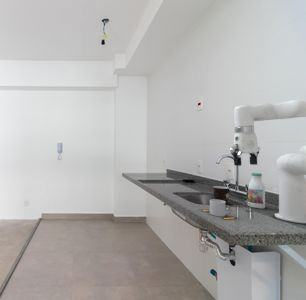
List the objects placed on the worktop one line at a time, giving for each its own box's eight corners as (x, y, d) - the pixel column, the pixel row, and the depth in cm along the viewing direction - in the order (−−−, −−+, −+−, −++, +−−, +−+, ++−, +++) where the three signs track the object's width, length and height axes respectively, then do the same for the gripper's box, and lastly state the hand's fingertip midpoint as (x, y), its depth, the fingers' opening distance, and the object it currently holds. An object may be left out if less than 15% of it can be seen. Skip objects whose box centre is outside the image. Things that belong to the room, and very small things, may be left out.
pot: (217, 212, 111) (217, 199, 111) (228, 216, 104) (228, 202, 104) (206, 212, 109) (206, 199, 109) (217, 216, 103) (217, 202, 103)
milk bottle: (252, 204, 127) (252, 172, 127) (267, 208, 120) (268, 173, 120) (245, 206, 123) (245, 172, 123) (260, 209, 116) (261, 174, 116)
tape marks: (211, 210, 114) (211, 209, 114) (235, 218, 101) (235, 218, 101) (201, 210, 113) (201, 210, 113) (225, 219, 99) (225, 218, 99)
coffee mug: (223, 201, 135) (223, 186, 135) (233, 204, 126) (233, 188, 126) (205, 201, 134) (205, 186, 134) (214, 205, 126) (214, 188, 126)
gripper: (237, 129, 97) (238, 166, 97) (266, 129, 101) (267, 164, 101) (223, 131, 104) (224, 165, 104) (250, 131, 108) (251, 163, 108)
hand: (245, 165), depth 103 cm, fingers open, 9 cm apart
